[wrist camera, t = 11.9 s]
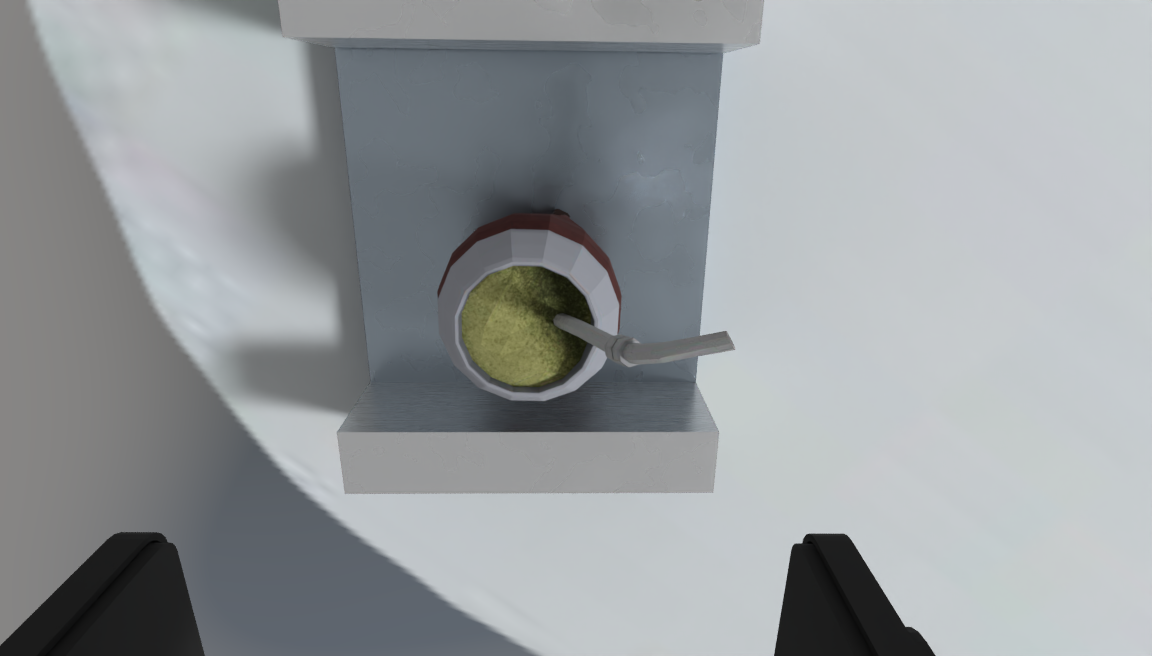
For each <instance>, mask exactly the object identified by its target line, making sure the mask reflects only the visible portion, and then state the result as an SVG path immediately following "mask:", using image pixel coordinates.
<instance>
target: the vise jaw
mask: <svg viewBox="0 0 1152 656" xmlns="http://www.w3.org/2000/svg"><path fill="white" fill-rule="evenodd" d="M763 5H764V0H278V6H279V13H280V21H281V28H282V36H283V37H285V38H290V39H295V40H300V41H304V42H309V43H314V44H318V45H323V46H328V47H345V48H415V49H484V50H554V51H624V52H694V53H727V52H731V51H735V50H738V49H742V48H746V47H750V46H754V45H757V44H760V35H761V25H762V15H763Z"/></svg>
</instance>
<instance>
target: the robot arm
mask: <svg viewBox="0 0 1152 656" xmlns="http://www.w3.org/2000/svg"><path fill="white" fill-rule="evenodd" d="M0 656H205V655H204V651H203V647H202V643H201V640H200V636H199V632H198V628H197V624H196V620H195V616H194V613H193V609H192V605H191V601H190V598H189V594H188V590H187V586H186V582H185V578H184V574H183V570H182V567H181V563H180V559H179V555H178V551H177V549H176V546H175V545H174V544H173V543H168V542H167V540H166V538H165V537H164V536H163V535H162V534H161V533H154V532H152V533H151V532H143V533H142V532H141V533H140V532H137V533H136V532H125V533H124V532H121V533H117V534H114V535H113V536H112V537H110V538H109V539H108V540H107V541H106V542H105V543H104V544H102V546H100V547H99V548H98V549H97V551H95V552H94V553H93V555H91V556H90V557H89V559H87V560H86V561H85V562H84V563H83V564H82V565H81V566H80V567H79V568H78V569H77V570H76V571H75V572H74V573H73V574H72V575H71V576H70V577H69V578H68V579H67V580H66V581H65V582H64V583H63V584H62V585H61V586H60V587H59V588H58V589H57V590H56V591H55V592H54V593H53V594H52V595H51V596H50V597H49V598H48V599H47V600H46V601H45V602H44V603H43V604H42V605H41V606H40V607H39V608H38V609H37V610H36V611H35V612H34V613H33V614H32V615H31V616H30V617H29V618H28V619H27V620H26V621H25V622H24V623H23V624H22V625H21V626H20V627H19V628H18V629H17V630H16V631H15V632H14V633H13V634H12V635H11V636H10V637H9V638H8V639H7V640H6V641H4V642H3V643H2V644H1V646H0ZM774 656H935V654H934V653H933V651H932V650H931V648H930V646H929V645H928V643H927V642H926V641H925V639H924V638H923V637H922V636H921V634H920V633H919V632H918V631H916V630H915V629H913V628H912V627H905V626H904V624H903V623H902V621H901V619H900V618H899V616H898V614H897V613H896V611H895V610H894V608H893V606H892V605H891V603H890V602H889V600H888V598H887V597H886V595H885V594H884V592H883V590H882V589H881V587H880V586H879V584H878V582H877V581H876V579H875V577H874V576H873V574H872V573H871V571H870V569H869V568H868V566H867V565H866V563H865V561H864V560H863V558H862V557H861V555H860V553H859V552H858V550H857V549H856V547H855V545H854V544H853V542H852V540H851V539H850V538H849V537H848V536H847V535H845V534H807V535H806V536H805V537H804V539H803V543H802V544H794V545H793V547H792V550H791V556H790V562H789V568H788V574H787V580H786V587H785V593H784V599H783V605H782V611H781V617H780V623H779V629H778V635H777V641H776V648H775V654H774Z"/></svg>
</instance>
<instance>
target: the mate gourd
mask: <svg viewBox="0 0 1152 656" xmlns="http://www.w3.org/2000/svg"><path fill="white" fill-rule="evenodd" d="M437 295H438V324H439V335H440V337H441V339H442V341H443V343H444V345H445V347H446V350H447V352H448V354H449V356H450V358H451V360H452V362H453V364H454V366H456V367H457V368H458V369H459V370H460V371H461V372H462V373H463V374H464V375H465V376H467V377H468V378H469V379H470V380H471V381H472V382H473V383H474V384H475V385H476V386H477V387H479V388H481V389H483V390H486V391H488V392H491V393H493V394H496V395H498V396H501V397H503V398H506V399H508V400H518V401H546V400H549V399H552V398H555V397H558V396H561V395H563V394H566V393H569V392H572V391H575V390H577V389H578V388H579V387H580V386H581V385H583V384H584V383H585V382H586V381H587V380H588V379H590V378H591V377H592V376H593V375H594V374H596V373H597V372H598V371H599V370H600V369H601V368H602V367H603V365H604V363H605V361H606V359H607V357H608V358H609V359H610V360H612V361H613V362H615V363H617V364H620V365H622V366H625V367H632V366H636V365H638V364H655V363H666V362H671V361H676V360H681V359H686V358H691V357H696V356H702V355H708V354H714V353H720V352H725V351H731V350H735V347H734V344H733V342H732V340H731V338H730V336H729V335H728V333H727V331H723V332H718V333H713V334H708V335H702V336H697V337H691V338H685V339H679V340H673V341H667V342H658V343H644V344H641V343H640V342H639V341H637V340H636V339H635V338H632V337H627V336H624V335H618V333H619V330H620V314H621V297H622V296H621V290H620V287H619V285H618V282H617V279H616V276H615V273H614V270H613V268H612V265H611V262H610V259H609V257H608V256H607V255H606V254H605V252H604V251H603V250H602V249H601V248H600V247H599V246H598V245H597V244H596V242H595V241H594V240H593V239H592V238H591V237H590V236H589V235H588V234H587V233H586V231H585V230H584V229H583V228H582V227H580V226H579V225H578V224H576V223H575V222H574V221H572V220H571V219H570V215H569V214H568V213H567V212H564V211H562V210H560V209H554V211H553V213H552V214H536V213H513V214H511V215H508V216H506V217H503V218H501V219H498V220H496V221H493V222H490V223H488V224H485V225H483V226H481V227H478V228H477V229H476V230H475V231H474V232H473V233H472V234H471V235H470V236H469V237H468V238H467V239H466V240H465V241H464V242H463V243H462V244H461V245H460V246H459V247H458V248H457V249H456V250H455V251H454V252H453V253H452V255H451V257H450V260H449V262H448V265H447V267H446V270H445V272H444V275H443V277H442V280H441V282H440V285H439V288H438V291H437Z"/></svg>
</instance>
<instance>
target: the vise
mask: <svg viewBox="0 0 1152 656" xmlns="http://www.w3.org/2000/svg"><path fill="white" fill-rule="evenodd" d="M335 56H336V65H337V74H338V84H339V93H340V102H341V112H342V121H343V130H344V139H345V149H346V158H347V167H348V177H349V186H350V195H351V205H352V214H353V223H354V232H355V242H356V251H357V260H358V270H359V279H360V288H361V297H362V307H363V316H364V325H365V335H366V344H367V353H368V363H369V372H370V381H371V382H370V383H369V385H368V386H367V388H366V389H365V391H364V392H363V394H362V395H361V397H360V398H359V400H358V401H357V403H356V404H355V406H354V407H353V409H352V410H351V412H350V413H349V415H348V416H347V418H346V419H345V421H344V422H343V424H342V425H341V427H340V428H339V430H338V431H337V437H338V445H339V452H340V460H341V467H342V475H343V483H344V490H345V494H415V493H713V489H714V479H715V469H716V459H717V449H718V439H719V431H718V428H717V426H716V424H715V422H714V420H713V418H712V416H711V414H710V412H709V409H708V407H707V405H706V403H705V401H704V399H703V397H702V395H701V392H700V390H699V388H698V386H697V384H696V372H697V360H698V356H696V357H691V358H686V359H681V360H676V361H671V362H666V363H655V364H638V365H636V366H632V367H625V366H622V365H620V364H617V363H615V362H613V361H612V360H610V359H609V358H608V357H607V359H606V361H605V363H604V365H603V367H602V368H601V369H600V370H599V371H598V372H597V373H596V374H594V375H593V376H592V377H591V378H590V379H588V380H587V381H586V382H585V383H584V384H583V385H581V386H580V387H579V388H578V389H577V390H575V391H572V392H569V393H566V394H563V395H561V396H558V397H555V398H552V399H549V400H546V401H518V400H508V399H506V398H503V397H501V396H498V395H496V394H493V393H491V392H488V391H486V390H483V389H481V388H479V387H477V386H476V385H475V384H474V383H473V382H472V381H471V380H470V379H469V378H468V377H467V376H465V375H464V374H463V373H462V372H461V371H460V370H459V369H458V368H457V367H456V366H454V364H453V362H452V360H451V358H450V356H449V354H448V352H447V350H446V347H445V345H444V343H443V341H442V339H441V337H440V335H439V324H438V295H437V291H438V288H439V285H440V282H441V280H442V277H443V275H444V272H445V270H446V267H447V265H448V262H449V260H450V257H451V255H452V253H453V252H454V251H455V250H456V249H457V248H458V247H459V246H460V245H461V244H462V243H463V242H464V241H465V240H466V239H467V238H468V237H469V236H470V235H471V234H472V233H473V232H474V231H475V230H476V229H477V228H478V227H481V226H483V225H485V224H488V223H490V222H493V221H496V220H498V219H501V218H503V217H506V216H508V215H511V214H513V213H536V214H552V213H553V211H554V209H560V210H562V211H564V212H567V213H568V214H569V215H570V219H571V220H572V221H574V222H575V223H576V224H578V225H579V226H580V227H582V228H583V229H584V230H585V231H586V233H587V234H588V235H589V236H590V237H591V238H592V239H593V240H594V241H595V242H596V244H597V245H598V246H599V247H600V248H601V249H602V250H603V251H604V252H605V254H606V255H607V256H608V257H609V259H610V262H611V265H612V268H613V270H614V273H615V276H616V279H617V282H618V285H619V287H620V290H621V296H622V297H621V314H620V330H619V333H618V335H624V336H627V337H632V338H635V339H636V340H637V341H639V342H640V343H641V344H644V343H658V342H667V341H673V340H679V339H685V338H691V337H697V336H700V324H701V312H702V300H703V288H704V276H705V264H706V252H707V240H708V228H709V216H710V204H711V192H712V180H713V168H714V156H715V144H716V132H717V120H718V108H719V96H720V84H721V72H722V60H723V53H694V52H624V51H554V50H484V49H415V48H345V47H335Z"/></svg>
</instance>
